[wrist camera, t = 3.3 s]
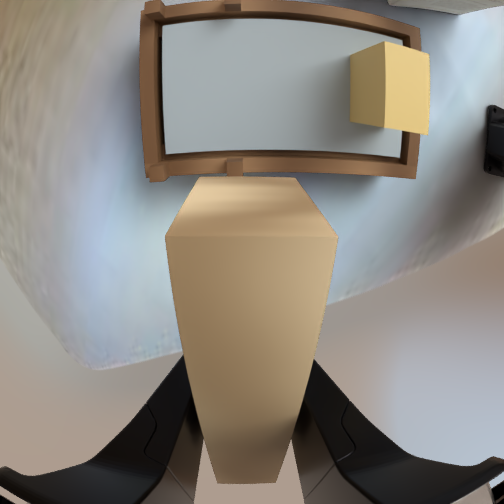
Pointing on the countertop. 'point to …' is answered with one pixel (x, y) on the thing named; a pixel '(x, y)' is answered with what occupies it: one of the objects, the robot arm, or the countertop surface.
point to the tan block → (249, 313)
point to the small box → (449, 5)
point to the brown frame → (238, 161)
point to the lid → (290, 87)
